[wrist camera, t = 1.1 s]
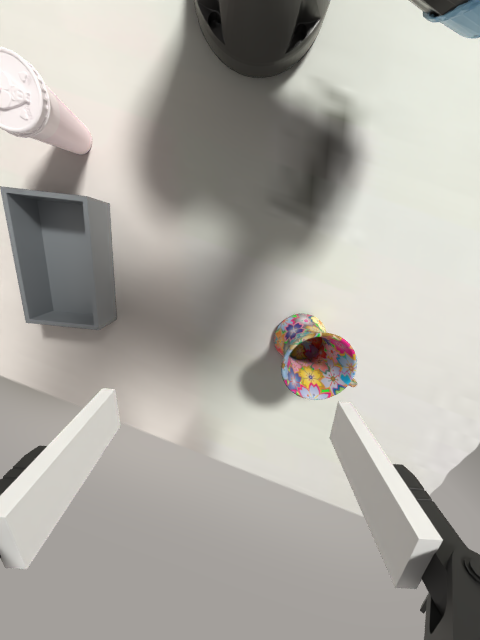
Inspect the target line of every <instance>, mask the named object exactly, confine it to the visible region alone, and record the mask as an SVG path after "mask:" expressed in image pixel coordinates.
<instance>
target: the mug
mask: <svg viewBox="0 0 480 640" xmlns="http://www.w3.org/2000/svg"><path fill="white" fill-rule="evenodd" d="M274 343H275V347H276V349H277V351H278V353H279V354H280V355H281V356H282V357H284V358H283V361H282V366H281V372H282V377H283V380H284V382H285V384H286V386H287V387H288V388H289V389H290V390H291V391H292V392H293V393H294V394H296V395H298V396H300V397H302V398H305V399H311V400H321V399H326V398H329V397H332V396H334V395H336V394H338V393H340V392H341V391H342V390H344V389H345V388H346V387H347V386H348V385H349V386H351V387H355V386H356V385H357V382H356V380H355V379H354V378H353V377H354V375H355V372H356V368H357V359H356V355H355V352H354V350H353V348H352V347H351V345H350V344H349V343H348V342H347V341H346V340H344V339H343V338H341V337H339V336H337V335H334V334H330V333H326V330H325V327H324V325H323V324H322V322H321V321H320V320H319V319H317V318H316V317H314V316H312V315H308V314H296V315H292V316H290V317H288V318H286V319H285V320H284V321H283V322H282V323H281V324H280V325H279V326H278V328H277V330H276V332H275V337H274Z"/></svg>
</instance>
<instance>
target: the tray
mask: <svg viewBox="0 0 480 640" xmlns="http://www.w3.org/2000/svg"><path fill="white" fill-rule="evenodd" d="M0 189H1V194H2V199H3V205H4V210H5V215H6V220H7V226H8V231H9V236H10V241H11V247H12V252H13V257H14V262H15V268H16V273H17V278H18V283H19V289H20V294H21V299H22V305H23V310H24V315H25V320H26V323H34V324H44V325H54V326H64V327H74V328H85V329H95V330H99V329H101V328H103V327H105V326H106V325H108V324H110V323H111V322H113V321H115V320H116V319H117V316H116V300H115V284H114V268H113V252H112V235H111V219H110V204H109V203H106V202H103V201H100V200H97V199H94V198H90V197H87V196H79V195H70V194H62V193H53V192H44V191H36V190H27V189H18V188H10V187H1V186H0Z"/></svg>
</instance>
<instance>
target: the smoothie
mask: <svg viewBox="0 0 480 640" xmlns="http://www.w3.org/2000/svg"><path fill="white" fill-rule="evenodd" d="M0 128H1V129H3V130H5V131H7V132H8V133H10V134H13V135H15V136H17V137H25V138H27V137H30V138H33V139H36V140H39V141H42V142H44V143H47V144H50V145H53V146H56V147H59V148H62V149H64V150H67V151H70V152H73V153H76V154H85V153H87V152H88V151H89V150H90V148H91V146H92V136H91V133H90V131H89V129H88V128H87V127H86V126H85V125H84V124H83V123H82V122H81V120H80V119H79V118H78V117H77V116H76V115H75V114H74V113H73V112H72V111H71V110H70V109H69V108H68V107H67V106H66V105H65V104H64V103H63V102H62V101H61V100H60V99H59V98H58V97H57V96H56V95H55V93H54V92H53V91H52V90H51V89H50V88H49V87H48V86H47V85H46V84H45V83H44V81H43V79H42V77H41V76H40V74H39V73H38V72H37V71H36V69H35V68H34V67H33V66H32V65H31V64H30V63H29V62H27V61H26V60H25V59H23V58H22V57H21V56H19V55H18V54H17V53H15V52H14V51H12V50H10V49H7V48H4V47H0Z"/></svg>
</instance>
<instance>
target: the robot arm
mask: <svg viewBox="0 0 480 640" xmlns="http://www.w3.org/2000/svg"><path fill="white" fill-rule="evenodd" d="M409 1H410V2H412V3H413V4H414V5H416V6H417V7H418V8H419V9H421V10H422V11H423V17H425V18H426V19H427V20H428V21H431V22H441V23H442V24H444V25H445V26H447V27H448V28H450V29H452V30H453V31H455V32H456V33H458V34H459V35H461V36H463V37H466V38H479V37H480V0H409ZM194 2H195V8H196V12H197V17H198V20H199V24H200V27H201V29H202V32H203V34H204V36H205V38H206V40H207V42H208V44H209V46H210V47H211V49H212V50H213V51H214V53H215V54H216V55H217V56H218V58H219V59H220V60H221V61H222V62H223V63H225V64H226V65H227V66H228V67H230V68H231V69H233V70H234V71H236V72H238V73H240V74H243V75H246V76H251V77H269V76H273V75H276V74H279V73H281V72H283V71H285V70H287V69H289V68H290V67H292V66H293V65H294V64H295V63H297V62H298V61H299V60H300V59H301V58H302V57H303V56H304V55H305V53H306V52H307V51H308V50H309V48H310V47H311V45H312V44H313V42H314V40H315V39H316V37H317V35H318V33H319V30H320V28H321V26H322V23H323V20H324V17H325V15H326V12H327V9H328V6H329V4H330V0H194ZM120 427H121V425H120V417H119V410H118V403H117V396H116V389H106V388H102V389H101V390H100V391H99V392H98V393H97V394H96V396H95V397H94V398H93V399H92V400H91V401H90V402H89V403H88V404H87V405H86V406H85V407H84V408H83V409H82V410H81V411H80V412H79V413H78V414H77V416H76V417H75V418H74V419H73V420H72V421H71V422H70V423H69V424H68V425H67V426H66V427H65V428H64V429H63V430H62V431H61V432H60V434H58V436H57V437H56V438H55V439H54V440H53V441H52V442H51V443H50V444H49V445H48V446H38V447H37V448H35V449H34V450H32V451H31V452H29V453H28V454H26V455H25V456H24V457H23V458H22V459H21V460H20V461H19V462H18V463H17V464H16V465H15V466H14V467H13V469H11V470H9V471H8V472H7V473H6V475H4V476H3V479H0V558H1V560H2V562H3V564H4V566H5V568H17V569H27V568H28V566H29V565H30V563H31V562H32V560H33V559H34V557H35V556H36V554H37V553H38V551H39V550H40V548H41V547H42V545H43V544H44V542H45V541H46V539H47V538H48V536H49V535H50V533H51V532H52V530H53V528H54V527H55V525H56V524H57V522H58V521H59V519H60V518H61V516H62V515H63V513H64V512H65V510H66V509H67V507H68V506H69V504H70V503H71V501H72V500H73V498H74V497H75V495H76V494H77V492H78V490H79V489H80V487H81V486H82V484H83V483H84V481H85V480H86V478H87V477H88V475H89V474H90V472H91V471H92V469H93V468H94V466H95V465H96V463H97V462H98V460H99V458H100V457H101V456H102V454H103V452H104V451H105V449H106V448H107V446H108V445H109V443H110V442H111V440H112V439H113V437H114V436H115V434H116V433H117V431H118V430H119V428H120ZM330 440H331V442H332V444H333V447H334V449H335V451H336V453H337V456H338V458H339V460H340V463H341V465H342V467H343V469H344V472H345V474H346V476H347V479H348V481H349V483H350V485H351V488H352V490H353V492H354V495H355V497H356V499H357V501H358V504H359V506H360V508H361V511H362V513H363V515H364V517H365V520H366V522H367V524H368V527H369V528H370V531H371V534H372V536H373V538H374V540H375V543H376V545H377V547H378V549H379V552H380V554H381V556H382V559H383V561H384V563H385V566H386V568H387V570H388V572H389V575H390V577H391V579H392V581H393V584H394V586H395V588H410V589H416V588H417V587H418V585H419V583H420V581H421V580H423V582H424V584H425V586H426V588H427V590H428V591H429V594H428V595H427V597H426V599H425V600H424V602H423V604H422V606H421V609H420V611H421V612H422V613H424V612H425V611H426V620H425V621H426V622H425V636H424V640H480V555H479V554H478V553H475V552H474V551H472V550H470V549H468V548H467V547H466V545H465V544H464V543H463V542H462V540H461V539H460V538H459V536H458V535H457V533H456V532H455V530H454V529H453V528H452V526H451V525H450V524H449V522H448V521H447V519H446V518H445V517H444V515H443V514H442V513H441V511H440V510H439V509H438V508H437V506H436V504H435V503H434V502H432V500H431V498H430V496H429V495H428V493H427V492H426V491H424V488H423V486H422V485H421V484H420V482H419V481H418V480H417V478H416V477H415V476H414V475H413V474H412V473H411V472H410V471H409V470H408V469H407V468H406V467H404V466H403V465H398V464H392V463H391V461H390V460H389V458H388V457H387V455H386V454H385V452H384V451H383V449H382V448H381V446H380V445H379V443H378V442H377V440H376V439H375V437H374V436H373V434H372V433H371V431H370V430H369V428H368V427H367V425H366V424H365V422H364V421H363V419H362V418H361V416H360V415H359V413H358V412H357V410H356V409H355V407H354V406H353V404H352V403H351V402H339V401H338V404H337V409H336V413H335V417H334V421H333V426H332V430H331V434H330Z"/></svg>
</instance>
